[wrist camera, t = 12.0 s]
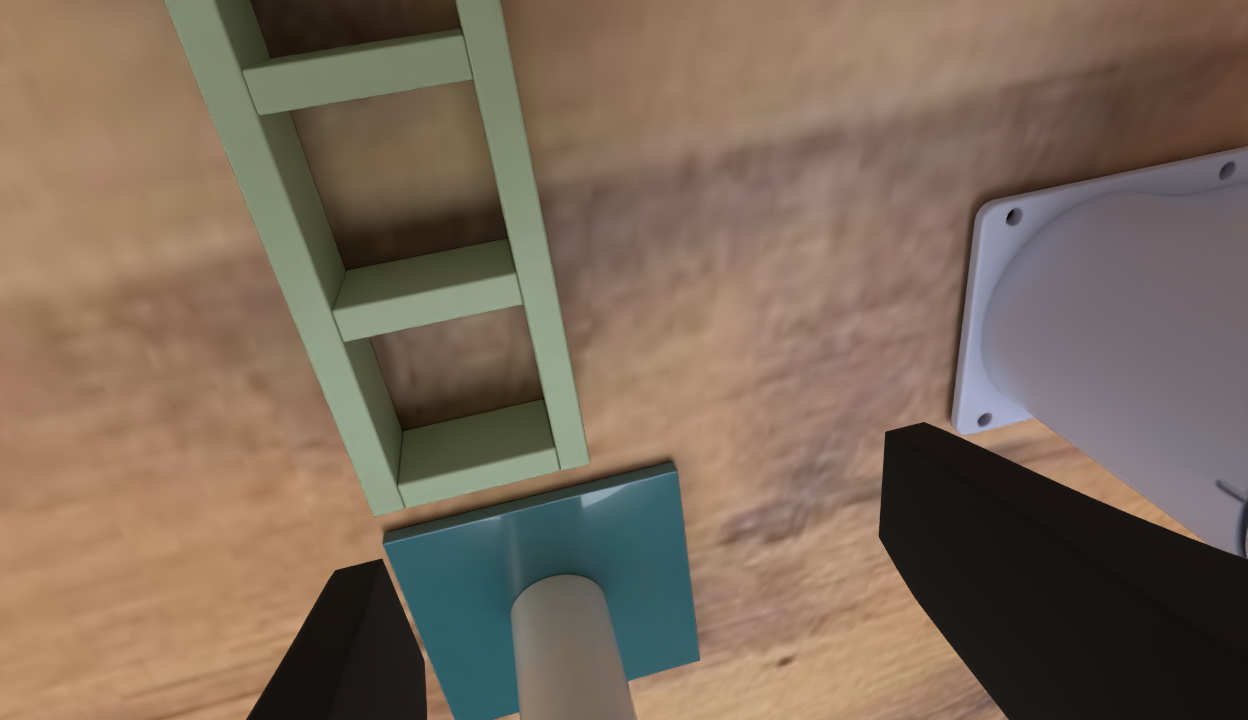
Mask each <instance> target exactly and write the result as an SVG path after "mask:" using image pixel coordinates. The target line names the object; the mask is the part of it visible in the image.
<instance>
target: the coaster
mask: <svg viewBox="0 0 1248 720" xmlns="http://www.w3.org/2000/svg"><path fill="white" fill-rule="evenodd" d="M383 546H384V549H385V551H386V554H387V556H388V559H389V561H390V564H391V566H392V568H393V571H394V573H395V576H396V578H397V581H398V583H399V586H400V588H401V590H402V593H403V595H404V598H405V600H406V603H407V605H408V608H409V610H410V612H411V615H412V617H413V620H414V622H415V625H416V627H417V630H418V632H419V634H420V637H421V639H422V642H423V644H424V647H425V649H426V652H427V654H428V656H429V659H430V661H431V664H432V666H433V669H434V671H435V674H436V676H437V678H438V681H439V683H440V686H441V688H442V691H443V693H444V696H445V698H446V700H447V703H448V705H449V708H450V710H451V713H452V715H453V718H454V720H493V719H497V718H500V717H504V716H507V715H511V714H514V713H518V712H519V703H518V693H517V683H516V673H515V662H514V652H513V642H512V632H511V621H510V614H511V610H512V607H513V604H514V602H515V601H516V599H517V598H518V596H519V595H520V594H521V593H522V592H523V591H524V590H525V589H526V588H528V587H529V586H530V585H532V584H534V583H535V582H537V581H539V580H542V579H544V578H547V577H551V576H555V575H563V574H571V575H578V576H583V577H586V578H588V579H590V580H592V581H594V582H595V583H596V584H597V585H598V586H600V588H601V589H602V590H603V592H604V594H605V596H606V599H607V603H608V607H609V611H610V615H611V619H612V623H613V626H614V630H615V634H616V638H617V642H618V646H619V650H620V654H621V657H622V661H623V665H624V669H625V673H626V677H627V681H630V680H633V679H637V678H640V677H644V676H647V675H651V674H654V673H658V672H661V671H665V670H668V669H672V668H675V667H679V666H682V665H686V664H689V663H693V662H696V661H699V660H700V654H699V645H698V637H697V628H696V620H695V612H694V603H693V595H692V587H691V578H690V570H689V561H688V553H687V545H686V536H685V528H684V520H683V511H682V503H681V494H680V486H679V478H678V470H677V468H676V466H675V464H674V462H669V463H665V464H661V465H657V466H653V467H649V468H645V469H641V470H637V471H633V472H629V473H625V474H620V475H616V476H612V477H608V478H604V479H600V480H596V481H592V482H588V483H584V484H580V485H576V486H572V487H568V488H564V489H560V490H556V491H552V492H548V493H544V494H540V495H536V496H532V497H527V498H523V499H519V500H515V501H511V502H507V503H503V504H499V505H495V506H491V507H487V508H483V509H479V510H475V511H471V512H467V513H463V514H459V515H455V516H451V517H447V518H443V519H439V520H435V521H430V522H426V523H422V524H418V525H414V526H410V527H406V528H402V529H398V530H394V531H390V532H386V533H384V536H383Z"/></svg>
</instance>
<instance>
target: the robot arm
mask: <svg viewBox="0 0 1248 720" xmlns="http://www.w3.org/2000/svg"><path fill="white" fill-rule="evenodd" d="M1012 209H1013V214H1012V216H1011V217H1010V218H1009V220H1007V221H1006V218H1007V215H1008V213H1009V212H1010V211H1011V210H1012ZM982 415H983V416H982ZM981 416H982V417H981ZM980 417H981V418H980ZM979 418H980V419H979ZM1032 418H1036V419H1038V420H1039V421H1040V422H1042V423H1043V424H1045V425H1046V426H1047V427H1049V428H1050V429H1051V430H1053V431H1054V432H1055V433H1057V434H1058V435H1060V436H1061V437H1062V438H1064V439H1065V440H1066V441H1068V442H1069V443H1070V444H1072V445H1073V446H1075V447H1076V448H1077V449H1079V450H1080V451H1081V452H1083V453H1084V454H1086V455H1087V456H1088V457H1090V458H1091V459H1092V460H1094V461H1095V462H1096V463H1098V464H1099V465H1101V466H1102V467H1103V468H1105V469H1106V470H1107V471H1109V472H1110V473H1112V474H1113V475H1114V476H1116V477H1117V478H1118V479H1120V480H1121V481H1122V482H1124V483H1125V484H1127V485H1128V486H1129V487H1131V488H1132V489H1133V490H1135V491H1136V492H1137V493H1139V494H1140V495H1142V496H1143V497H1144V498H1146V499H1147V500H1148V501H1150V502H1151V503H1153V504H1154V505H1155V506H1157V507H1158V508H1159V509H1161V510H1162V511H1163V512H1165V513H1166V514H1168V515H1169V516H1170V517H1172V518H1173V519H1174V520H1176V521H1177V522H1178V523H1180V524H1181V525H1183V526H1184V527H1185V528H1187V529H1188V530H1189V531H1191V532H1192V533H1194V534H1195V535H1196V536H1198V537H1199V538H1200V539H1202V540H1203V541H1204V542H1206V543H1207V544H1209V545H1207V544H1204V543H1202V542H1199V541H1196V540H1194V539H1191V538H1188V537H1186V536H1183V535H1181V534H1178V533H1176V532H1173V531H1171V530H1168V529H1166V528H1163V527H1161V526H1158V525H1156V524H1153V523H1151V522H1148V521H1146V520H1143V519H1141V518H1138V517H1136V516H1133V515H1131V514H1129V513H1126V512H1124V511H1121V510H1119V509H1117V508H1114V507H1112V506H1110V505H1107V504H1105V503H1103V502H1100V501H1098V500H1096V499H1093V498H1091V497H1089V496H1087V495H1084V494H1082V493H1080V492H1078V491H1075V490H1073V489H1071V488H1069V487H1066V486H1064V485H1062V484H1060V483H1058V482H1055V481H1053V480H1051V479H1049V478H1047V477H1044V476H1042V475H1040V474H1038V473H1036V472H1034V471H1031V470H1029V469H1027V468H1025V467H1023V466H1021V465H1018V464H1016V463H1014V462H1012V461H1010V460H1008V459H1006V458H1003V457H1001V456H999V455H997V454H995V453H993V452H991V451H988V450H986V449H984V448H982V447H980V446H978V445H975V444H973V443H971V442H969V441H967V440H965V439H962V438H960V437H958V436H956V435H954V434H951V433H949V432H947V431H944V430H942V429H940V428H937V427H935V426H933V425H930V424H928V423H925V422H922V423H918V424H914V425H910V426H906V427H902V428H898V429H894V430H891V431H887V432H885V446H884V462H883V477H882V493H881V509H880V525H879V538H880V540H881V542H882V543H883V545H884V547H885V549H886V550H887V552H888V554H889V556H890V557H891V559H892V561H893V563H894V564H895V566H896V568H897V570H898V571H899V573H900V575H901V576H902V578H903V579H904V581H905V583H906V584H907V586H908V588H909V589H910V591H911V592H912V594H913V596H914V597H915V599H916V600H917V601H918V603H919V604H920V605H921V607H922V608H923V609H924V611H925V612H926V613H927V615H928V616H929V617H930V619H931V620H932V621H933V623H934V624H935V625H936V626H937V628H938V629H939V630H940V632H941V633H942V634H943V636H944V637H945V638H946V640H947V641H948V642H949V643H950V645H951V646H952V647H953V649H954V650H955V651H956V652H957V654H958V655H959V656H960V658H961V659H962V660H963V661H964V663H965V664H966V665H967V667H968V668H969V669H970V670H971V672H972V673H973V674H974V676H975V677H976V678H977V679H978V681H979V682H980V683H981V685H982V686H983V687H984V688H985V690H986V691H987V692H988V694H989V695H990V696H991V697H992V699H993V700H994V701H995V702H996V704H997V705H998V706H999V708H1000V709H1001V710H1002V711H1003V713H1004V714H1005V715H1006V717H1007V718H1008V719H1009V720H1248V146H1246V147H1241V148H1236V149H1232V150H1227V151H1222V152H1217V153H1213V154H1208V155H1203V156H1198V157H1194V158H1189V159H1184V160H1179V161H1175V162H1170V163H1165V164H1160V165H1156V166H1151V167H1146V168H1141V169H1137V170H1132V171H1127V172H1123V173H1118V174H1113V175H1108V176H1104V177H1099V178H1094V179H1089V180H1085V181H1080V182H1075V183H1070V184H1066V185H1061V186H1056V187H1051V188H1047V189H1042V190H1037V191H1032V192H1028V193H1023V194H1018V195H1013V196H1009V197H1004V198H999V199H995V200H991V201H989V202H986V203H985V204H984V205H983V206H982V207H981V208H980V209H979V211H978V212H977V214H976V218H975V222H974V231H973V239H972V248H971V256H970V265H969V273H968V281H967V290H966V298H965V307H964V315H963V324H962V332H961V340H960V349H959V357H958V366H957V374H956V383H955V391H954V399H953V408H952V416H951V426H952V427H953V428H954V429H955V430H956V431H957V432H958V433H959V434H962V435H970V434H974V433H977V432H981V431H985V430H989V429H993V428H997V427H1001V426H1005V425H1009V424H1013V423H1016V422H1020V421H1024V420H1028V419H1032ZM246 720H427V700H426V681H425V662H424V658H423V656H422V653H421V651H420V649H419V646H418V644H417V641H416V639H415V636H414V634H413V632H412V629H411V627H410V624H409V622H408V620H407V617H406V615H405V612H404V610H403V608H402V605H401V603H400V600H399V598H398V595H397V593H396V591H395V588H394V586H393V583H392V581H391V579H390V576H389V574H388V571H387V569H386V567H385V564H384V562H383V559H378V560H374V561H370V562H366V563H362V564H358V565H354V566H350V567H346V568H342V569H338V570H335V571H334V573H333V574H332V576H331V577H330V579H329V580H328V582H327V584H326V585H325V587H324V589H323V591H322V592H321V594H320V596H319V597H318V599H317V601H316V603H315V604H314V606H313V608H312V610H311V611H310V613H309V615H308V617H307V618H306V620H305V622H304V624H303V625H302V627H301V629H300V631H299V632H298V634H297V636H296V638H295V639H294V641H293V643H292V644H291V646H290V648H289V650H288V651H287V653H286V655H285V656H284V658H283V660H282V662H281V663H280V665H279V667H278V668H277V670H276V672H275V673H274V675H273V677H272V678H271V680H270V681H269V683H268V685H267V686H266V688H265V690H264V691H263V693H262V695H261V696H260V698H259V699H258V701H257V703H256V704H255V706H254V708H253V709H252V711H251V712H250V714H249V716H248V717H247V719H246Z"/></svg>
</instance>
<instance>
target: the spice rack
mask: <svg viewBox="0 0 1248 720" xmlns="http://www.w3.org/2000/svg"><path fill="white" fill-rule="evenodd" d="M164 2H165V5H166V7H167V10H168V12H169V15H170V17H171V20H172V22H173V24H174V27H175V29H176V32H177V34H178V37H179V39H180V42H181V44H182V47H183V49H184V52H185V54H186V56H187V59H188V61H189V64H190V66H191V69H192V71H193V74H194V76H195V79H196V81H197V84H198V86H199V88H200V91H201V93H202V96H203V98H204V101H205V103H206V106H207V108H208V111H209V113H210V115H211V118H212V120H213V123H214V125H215V128H216V130H217V133H218V135H219V138H220V140H221V143H222V145H223V147H224V150H225V152H226V155H227V157H228V160H229V162H230V165H231V167H232V170H233V172H234V174H235V177H236V179H237V182H238V184H239V187H240V189H241V192H242V194H243V197H244V199H245V202H246V204H247V206H248V209H249V211H250V214H251V216H252V219H253V221H254V224H255V226H256V229H257V231H258V234H259V236H260V238H261V241H262V243H263V246H264V248H265V251H266V253H267V256H268V258H269V261H270V263H271V265H272V268H273V270H274V273H275V275H276V278H277V280H278V283H279V285H280V288H281V290H282V293H283V295H284V297H285V300H286V302H287V305H288V307H289V310H290V312H291V315H292V317H293V320H294V322H295V325H296V327H297V329H298V332H299V334H300V337H301V339H302V342H303V344H304V347H305V349H306V352H307V354H308V356H309V359H310V361H311V364H312V366H313V369H314V371H315V374H316V376H317V379H318V381H319V384H320V386H321V388H322V391H323V393H324V396H325V398H326V401H327V403H328V406H329V408H330V411H331V413H332V415H333V418H334V420H335V423H336V425H337V428H338V430H339V433H340V435H341V438H342V440H343V443H344V445H345V447H346V450H347V452H348V455H349V457H350V460H351V462H352V465H353V467H354V470H355V472H356V475H357V477H358V479H359V482H360V484H361V487H362V489H363V492H364V494H365V497H366V499H367V502H368V504H369V506H370V509H371V511H372V514H373V516H375V517H376V516H380V515H384V514H388V513H392V512H396V511H400V510H404V509H405V507H406V508H411V507H415V506H419V505H424V504H428V503H432V502H436V501H440V500H444V499H448V498H452V497H456V496H460V495H465V494H469V493H473V492H477V491H481V490H485V489H489V488H493V487H497V486H501V485H506V484H510V483H514V482H518V481H522V480H526V479H530V478H534V477H538V476H542V475H547V474H551V473H555V472H558V471H560V469H561V470H562V471H564V470H568V469H572V468H576V467H580V466H585V465H589V464H590V462H591V461H590V456H589V451H588V446H587V441H586V436H585V431H584V425H583V420H582V415H581V410H580V405H579V400H578V395H577V390H576V385H575V379H574V374H573V369H572V364H571V359H570V354H569V349H568V344H567V338H566V333H565V328H564V323H563V318H562V313H561V308H560V303H559V297H558V292H557V287H556V282H555V277H554V272H553V267H552V262H551V257H550V251H549V246H548V241H547V236H546V231H545V226H544V221H543V216H542V210H541V205H540V200H539V195H538V190H537V185H536V180H535V175H534V169H533V164H532V159H531V154H530V149H529V144H528V139H527V134H526V129H525V123H524V118H523V113H522V108H521V103H520V98H519V93H518V88H517V82H516V77H515V72H514V67H513V62H512V57H511V52H510V47H509V41H508V36H507V31H506V26H505V21H504V16H503V11H502V6H501V1H500V0H455V2H456V6H457V11H458V15H459V20H460V24H461V28H462V30H461V29H460V28H458V29H451V30H445V31H439V32H432V33H426V34H420V35H414V36H407V37H401V38H395V39H389V40H382V41H376V42H370V43H364V44H357V45H351V46H345V47H339V48H332V49H326V50H320V51H313V52H307V53H301V54H295V55H288V56H282V57H276V58H272V59H271V58H270V55H269V53H268V50H267V47H266V44H265V41H264V38H263V36H262V33H261V30H260V27H259V24H258V21H257V19H256V16H255V13H254V10H253V7H252V4H251V2H250V0H164ZM471 79H473V82H474V87H475V91H476V95H477V100H478V104H479V109H480V113H481V118H482V122H483V127H484V131H485V136H486V140H487V145H488V149H489V154H490V158H491V163H492V167H493V171H494V176H495V180H496V185H497V189H498V194H499V198H500V203H501V207H502V212H503V216H504V221H505V225H506V230H507V234H508V239H509V240H508V239H502V240H497V241H492V242H487V243H482V244H477V245H472V246H467V247H462V248H457V249H452V250H447V251H442V252H437V253H432V254H427V255H422V256H417V257H412V258H407V259H402V260H397V261H392V262H387V263H382V264H377V265H372V266H367V267H362V268H357V269H352V270H348V271H345V268H344V265H343V263H342V260H341V257H340V254H339V251H338V248H337V246H336V243H335V240H334V237H333V234H332V231H331V229H330V226H329V223H328V220H327V217H326V214H325V212H324V209H323V206H322V203H321V200H320V197H319V195H318V192H317V189H316V186H315V183H314V180H313V177H312V175H311V172H310V169H309V166H308V163H307V160H306V158H305V155H304V152H303V149H302V146H301V143H300V141H299V138H298V135H297V132H296V129H295V126H294V124H293V121H292V118H291V115H290V112H289V111H290V110H296V109H302V108H308V107H314V106H319V105H325V104H331V103H337V102H343V101H349V100H355V99H361V98H367V97H373V96H379V95H384V94H390V93H396V92H402V91H408V90H414V89H420V88H426V87H432V86H438V85H444V84H449V83H455V82H461V81H467V80H471ZM521 304H523V306H524V310H525V315H526V319H527V323H528V328H529V332H530V337H531V341H532V346H533V350H534V355H535V359H536V364H537V368H538V373H539V377H540V382H541V386H542V391H543V395H544V399H545V401H544V400H542V399H541V400H537V401H533V402H528V403H524V404H520V405H515V406H511V407H507V408H502V409H498V410H494V411H489V412H485V413H480V414H476V415H472V416H467V417H463V418H459V419H454V420H450V421H446V422H441V423H437V424H433V425H428V426H424V427H420V428H415V429H411V430H407V431H404V432H403V433H402V430H401V427H400V424H399V421H398V419H397V416H396V413H395V410H394V407H393V404H392V402H391V399H390V396H389V393H388V390H387V387H386V385H385V382H384V379H383V376H382V373H381V370H380V368H379V365H378V362H377V359H376V356H375V353H374V351H373V348H372V345H371V342H370V339H369V337H371V336H375V335H380V334H385V333H390V332H394V331H399V330H404V329H409V328H413V327H418V326H423V325H427V324H432V323H437V322H442V321H446V320H451V319H456V318H460V317H465V316H470V315H475V314H479V313H484V312H489V311H493V310H498V309H503V308H508V307H512V306H517V305H521Z"/></svg>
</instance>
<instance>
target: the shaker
mask: <svg viewBox="0 0 1248 720" xmlns="http://www.w3.org/2000/svg"><path fill="white" fill-rule="evenodd" d="M510 621H511V632H512V642H513V652H514V662H515V673H516V683H517V693H518V703H519V713H520V720H638V719H637V715H636V712H635V708H634V704H633V700H632V696H631V692H630V688H629V684H628V681H627V677H626V673H625V669H624V665H623V661H622V657H621V654H620V650H619V646H618V642H617V638H616V634H615V630H614V626H613V623H612V619H611V615H610V611H609V607H608V603H607V599H606V596H605V594H604V592H603V590H602V589H601V588H600V586H598V585H597V584H596V583H595V582H594V581H592V580H590V579H588V578H586V577H583V576H578V575H571V574H563V575H555V576H551V577H547V578H544V579H542V580H539V581H537V582H535V583H534V584H532V585H530V586H529V587H528V588H526V589H525V590H524V591H523V592H522V593H521V594H520V595H519V596H518V598H517V599H516V601H515V602H514V604H513V607H512V610H511V614H510Z"/></svg>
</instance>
